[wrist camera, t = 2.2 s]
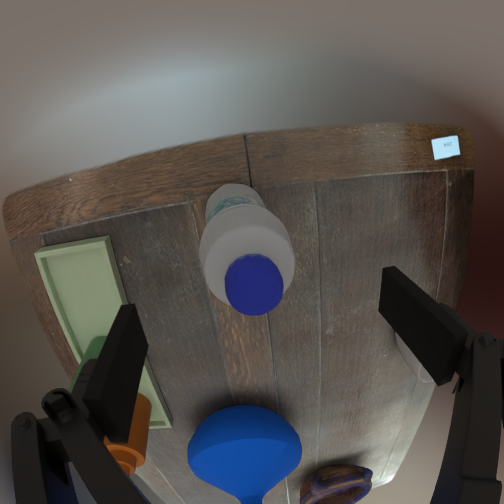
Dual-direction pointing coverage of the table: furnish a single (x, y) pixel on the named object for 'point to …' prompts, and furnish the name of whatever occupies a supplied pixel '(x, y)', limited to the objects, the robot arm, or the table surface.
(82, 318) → the tray
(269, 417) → the vase
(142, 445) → the amber bottle
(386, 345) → the table surface
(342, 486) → the bowl
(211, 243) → the bottle
